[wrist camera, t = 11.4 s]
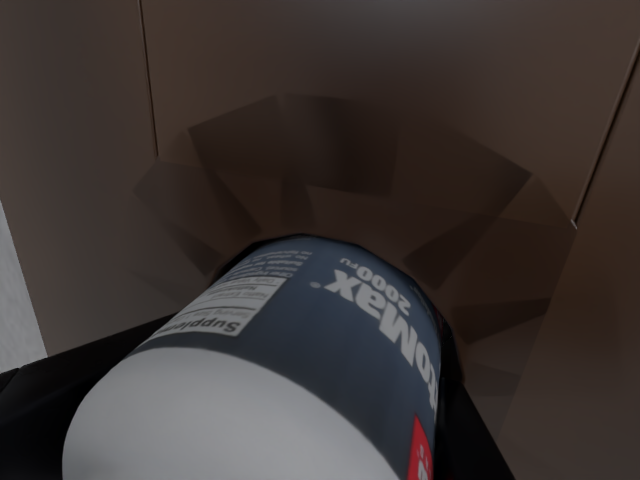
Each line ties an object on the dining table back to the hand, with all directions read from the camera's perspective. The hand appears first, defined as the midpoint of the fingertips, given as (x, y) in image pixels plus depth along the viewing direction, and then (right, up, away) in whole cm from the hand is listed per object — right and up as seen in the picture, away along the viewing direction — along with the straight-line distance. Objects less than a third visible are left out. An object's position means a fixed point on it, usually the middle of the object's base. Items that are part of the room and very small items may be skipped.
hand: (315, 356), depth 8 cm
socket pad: (+1, +1, +3) cm, 3 cm away
